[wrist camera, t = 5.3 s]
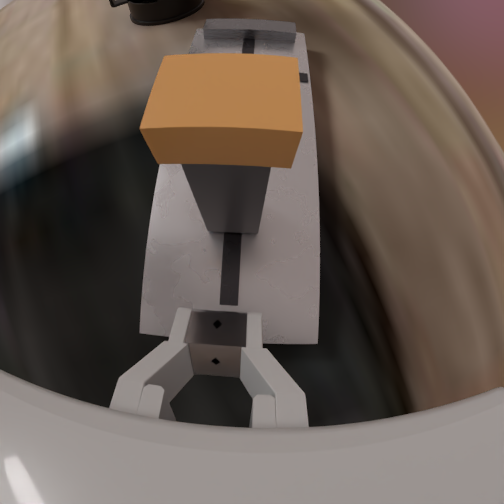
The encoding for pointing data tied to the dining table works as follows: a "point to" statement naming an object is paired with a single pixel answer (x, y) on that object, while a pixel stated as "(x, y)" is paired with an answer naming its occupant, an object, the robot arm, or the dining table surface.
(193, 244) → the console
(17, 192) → the dining table surface
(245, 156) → the fader tab
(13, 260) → the dining table surface
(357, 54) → the dining table surface
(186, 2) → the french press
